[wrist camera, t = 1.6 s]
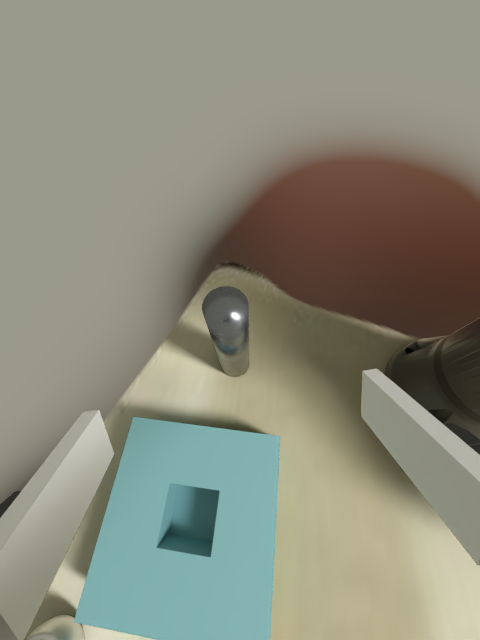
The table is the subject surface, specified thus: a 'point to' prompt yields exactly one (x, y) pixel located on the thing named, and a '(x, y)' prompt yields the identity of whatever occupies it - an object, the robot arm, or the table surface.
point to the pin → (228, 328)
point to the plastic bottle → (58, 630)
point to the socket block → (187, 536)
